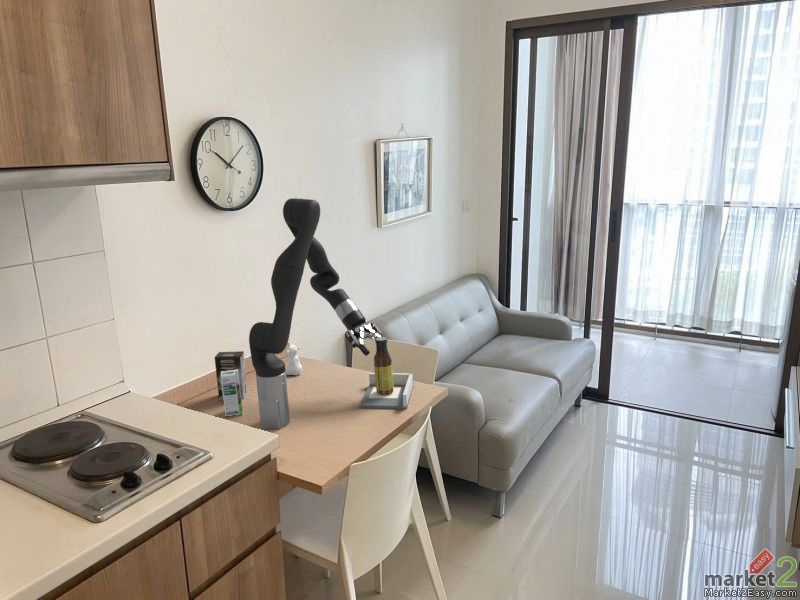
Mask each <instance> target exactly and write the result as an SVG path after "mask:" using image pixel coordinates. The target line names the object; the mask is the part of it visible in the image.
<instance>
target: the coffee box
mask: <svg viewBox="0 0 800 600" xmlns="http://www.w3.org/2000/svg"><path fill="white" fill-rule="evenodd" d="M245 363H246V362H245V354H244V351H243V350H241V351H240V350H239V351H219V352H217V354H216V355H215V356H214V366H215V373H216V383H217V393H218V401H219V400H222V401H223V393H222V385H221V371H229V370H236V369H238V374H239V383H240V392H241V400H242V399H243V400H244V399H245V398H246V395H247V394H248V387H247V377H246V365H245Z"/></svg>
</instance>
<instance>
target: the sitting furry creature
mask: <svg viewBox="0 0 800 600" xmlns="http://www.w3.org/2000/svg"><path fill="white" fill-rule="evenodd" d="M299 350H301V346H300V345H297V346H296V345H295V344H291V345H289V346H288V348H287V349H286V353H285V354H286V355H287V362H286V363H287V364H286V365H287V366H286V367H285V369H286V376H288V375H296V376H299V375H301V374H302V373H303V366H302V364H301V362H300V357H299V356H298V355H297V354H298V352H299ZM300 373H301V374H300ZM298 374H299V375H298Z"/></svg>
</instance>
